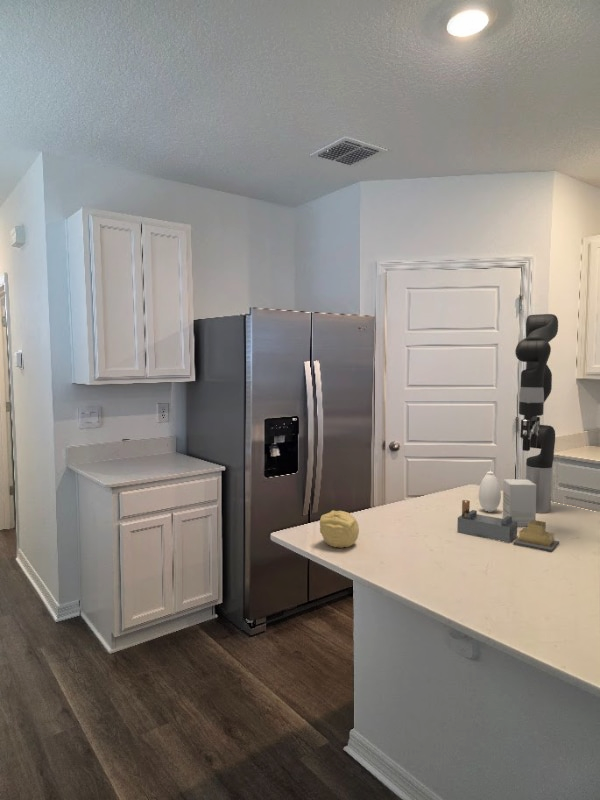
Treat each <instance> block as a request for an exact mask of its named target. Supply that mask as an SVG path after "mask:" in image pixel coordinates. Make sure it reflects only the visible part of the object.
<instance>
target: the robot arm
mask: <svg viewBox="0 0 600 800" xmlns="http://www.w3.org/2000/svg"><path fill="white" fill-rule="evenodd" d="M558 331H559V318H558V317H557V316H556V315H555V314H552V313H545V314H544V313H543V314H541V313H540V314H529V315H527V317H526V319H525V338H523V339H521V340H520V341H519V342H518V343H517V344H516V347H515V349H514V350H515V351H514V353H515V357H516V358H517V360H518V361H519V362H524V363H526V365H525V369H523V370H522V371H521V372H520V388H519V389H520V390H519V393H518V395H519V400H518V401H519V402H518V414H519V415H520V416H523V419H520V435H519V436H520V438H521V439H522V451H524V452H525V451H526V452H529V451H530V450H531V448H532V449H538V450H539V449H540V453H539V454H537V455H533V456H529V457H527V458H526V461H525V462H526V463H525V464H526V466H525V480H530V481H531V482H532V483H534V484H536V514H537V513H539V514H548V513H551V511H552V510H551V508H552V488H553V487H552V486H553V485H552V484H553V482H552V481H553V462H554V456H555V444H556V430H555V428H554V427H553V426H551V425H547V424H541V423H540V422H541V417H542V416H543V415H544V404H545V402H546V401H547V399H548V398H549V396H550V394H551V393H552V389H553V388H552V386H553V385H552V384H553V381H552V380H553V373H552V371H551V369H550V367H549V365H548V361H549V359H550V355H551V352H552V349H551V344H550V342H551V341H552V340H553V339H555V337H556V336H557V334H558Z"/></svg>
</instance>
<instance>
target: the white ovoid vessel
mask: <svg viewBox="0 0 600 800" xmlns="http://www.w3.org/2000/svg"><path fill="white" fill-rule="evenodd" d="M501 498H502V493H501V487H500V483H499V480H498V478H497V477H496V475H495V472H493V471H492V465H489V471H486V474H485V475H484V476H483V478H482V480H481V481H480V485H479V487H478V501H479V504H480V507H481V508H483V509H484V511H485V512H487V511H488V512H487V513H492V512H495V510H497V509H498V508H499V506H500V503H501Z"/></svg>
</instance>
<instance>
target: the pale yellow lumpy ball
mask: <svg viewBox="0 0 600 800" xmlns="http://www.w3.org/2000/svg"><path fill="white" fill-rule="evenodd" d="M319 533H320V534H321V536H322V538H323V540H324V542H325V543H326V544H327V545H328V546H329V545H330V546H329V547H332V546H333V547H332V548H336V547H342V548H341V549H344V548H343V547H346V548H349V547H351V546H353V545H354V544H355V543H356V542H357V540H358V538H359V533H360V528H359V524H358V521H357V519H356V518H355V516H353V514H351V513H349V512H346V511H343V510H331V511H330V512H327V513H324V514H322V515H321V516H320V520H319Z"/></svg>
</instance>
